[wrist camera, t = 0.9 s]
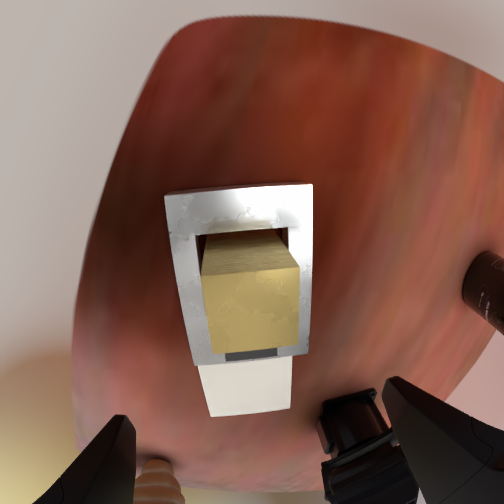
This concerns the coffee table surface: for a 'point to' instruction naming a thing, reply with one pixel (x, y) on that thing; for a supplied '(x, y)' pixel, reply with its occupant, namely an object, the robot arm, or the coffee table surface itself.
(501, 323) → the supplement bottle
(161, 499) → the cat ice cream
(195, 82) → the coffee table surface
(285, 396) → the coaster
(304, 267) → the white flat frame
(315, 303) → the coffee table surface
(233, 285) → the brass metal cube
